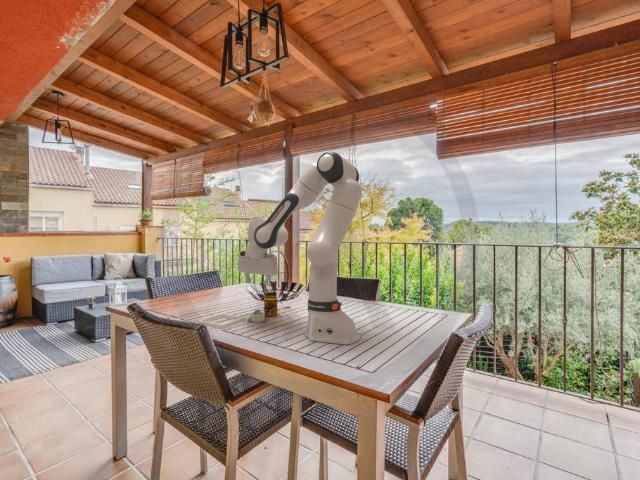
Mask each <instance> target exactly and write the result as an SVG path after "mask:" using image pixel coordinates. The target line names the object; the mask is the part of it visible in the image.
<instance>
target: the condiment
mask: <svg viewBox="0 0 640 480" xmlns="http://www.w3.org/2000/svg"><path fill="white" fill-rule="evenodd" d="M263 300H264V301H263V305H264V307H263V308H264V309H263V312H264V313H265V318H275V317H277V316H278V298H277V292H276V291H266V292H265V293H264V299H263Z"/></svg>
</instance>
